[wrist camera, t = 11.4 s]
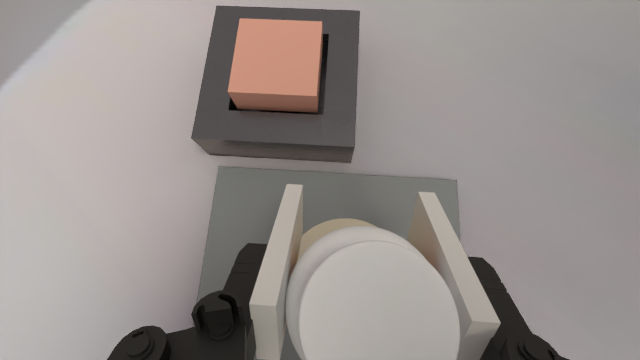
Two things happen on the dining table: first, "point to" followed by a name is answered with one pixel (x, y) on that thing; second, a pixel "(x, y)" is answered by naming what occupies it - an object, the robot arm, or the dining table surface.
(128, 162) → the dining table surface
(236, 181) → the slate board
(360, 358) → the supplement bottle
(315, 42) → the button
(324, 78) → the button housing
